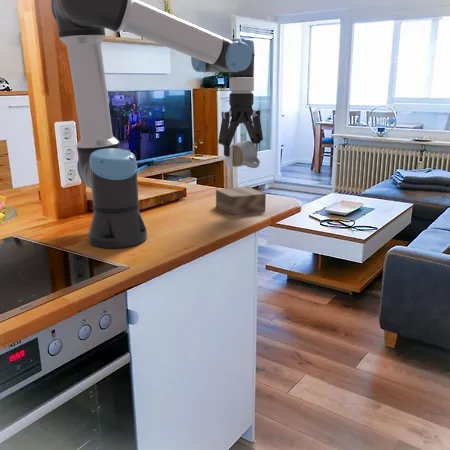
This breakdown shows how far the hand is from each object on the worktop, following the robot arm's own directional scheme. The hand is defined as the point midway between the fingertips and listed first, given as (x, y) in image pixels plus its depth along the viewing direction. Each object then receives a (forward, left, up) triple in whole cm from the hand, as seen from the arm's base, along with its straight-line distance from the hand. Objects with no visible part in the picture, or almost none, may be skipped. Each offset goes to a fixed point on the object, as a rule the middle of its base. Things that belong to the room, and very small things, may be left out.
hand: (240, 164), depth 154 cm
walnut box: (0, 0, -15) cm, 15 cm away
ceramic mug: (+1, -1, -1) cm, 1 cm away
